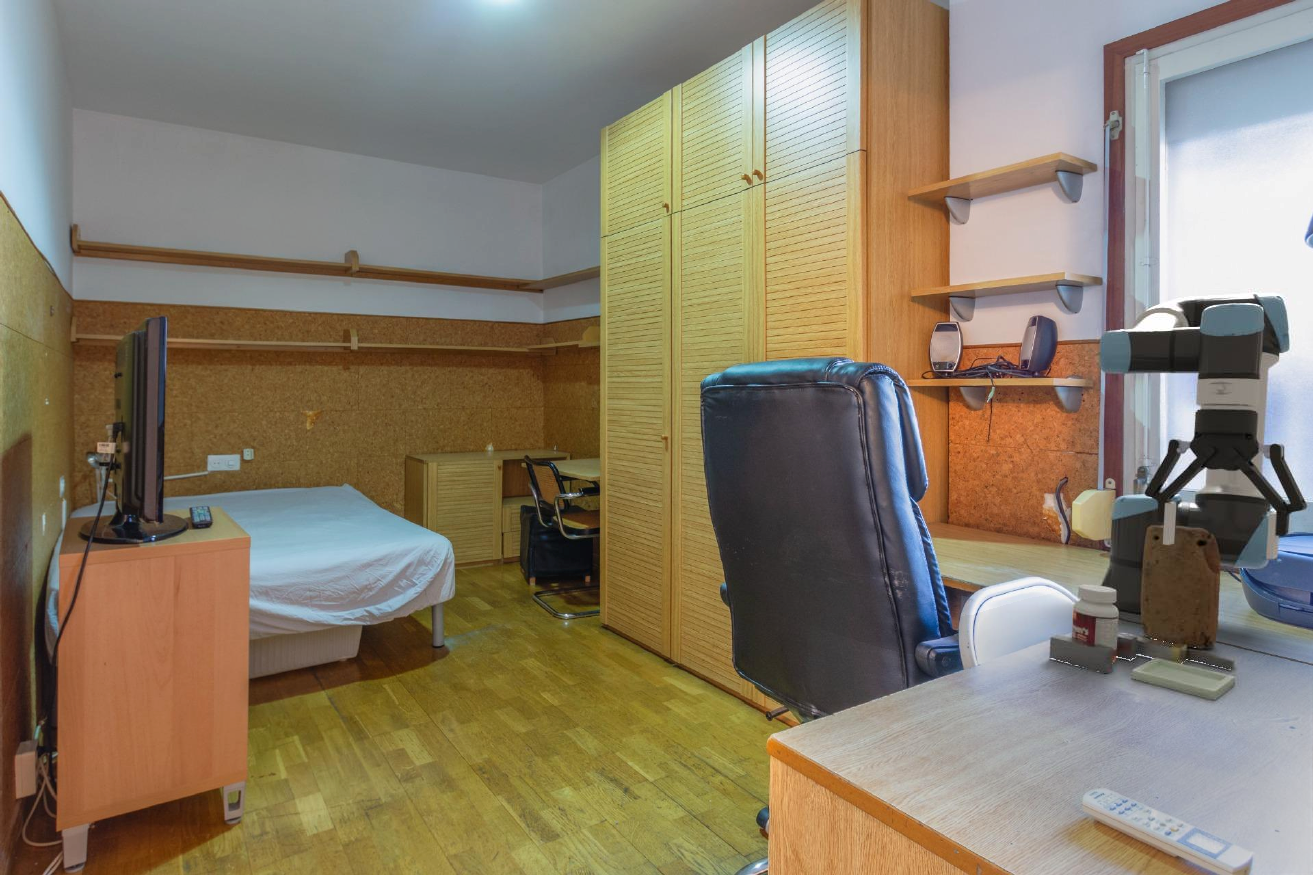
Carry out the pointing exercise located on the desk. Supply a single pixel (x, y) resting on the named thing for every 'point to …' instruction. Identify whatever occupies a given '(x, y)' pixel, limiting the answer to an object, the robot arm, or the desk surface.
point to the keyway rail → (1210, 659)
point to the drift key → (1161, 649)
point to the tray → (1184, 678)
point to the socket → (1091, 651)
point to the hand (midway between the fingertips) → (1217, 550)
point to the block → (1181, 587)
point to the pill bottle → (1096, 616)
